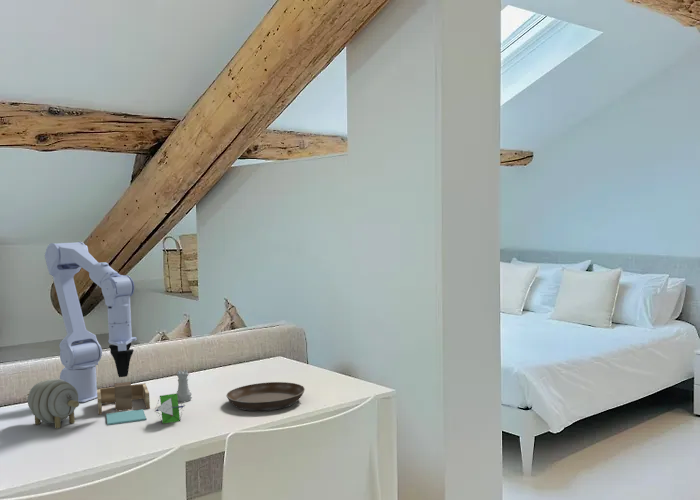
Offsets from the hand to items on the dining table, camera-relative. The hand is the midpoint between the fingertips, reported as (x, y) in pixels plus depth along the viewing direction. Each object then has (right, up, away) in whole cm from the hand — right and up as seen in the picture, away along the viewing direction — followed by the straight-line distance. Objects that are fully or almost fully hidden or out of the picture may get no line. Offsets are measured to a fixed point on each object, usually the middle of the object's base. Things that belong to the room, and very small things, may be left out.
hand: (122, 373), depth 178 cm
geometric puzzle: (+16, -10, -12) cm, 22 cm away
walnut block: (0, -9, 0) cm, 9 cm away
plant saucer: (+38, -8, +2) cm, 39 cm away
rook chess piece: (+15, -9, +7) cm, 18 cm away
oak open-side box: (0, -9, +2) cm, 9 cm away
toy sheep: (-12, -10, -12) cm, 20 cm away
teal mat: (+4, -10, -8) cm, 13 cm away
